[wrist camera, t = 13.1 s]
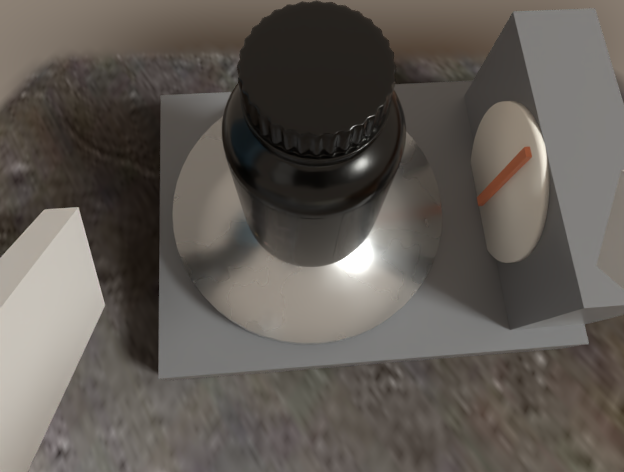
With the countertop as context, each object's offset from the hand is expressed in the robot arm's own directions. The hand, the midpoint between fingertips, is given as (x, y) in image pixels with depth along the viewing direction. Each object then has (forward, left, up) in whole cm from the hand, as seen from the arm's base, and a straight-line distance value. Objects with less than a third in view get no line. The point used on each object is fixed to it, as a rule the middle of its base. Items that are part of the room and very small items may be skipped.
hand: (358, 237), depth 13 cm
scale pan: (0, +6, -14) cm, 15 cm away
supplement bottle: (0, +6, -13) cm, 14 cm away
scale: (+3, +6, -17) cm, 18 cm away
